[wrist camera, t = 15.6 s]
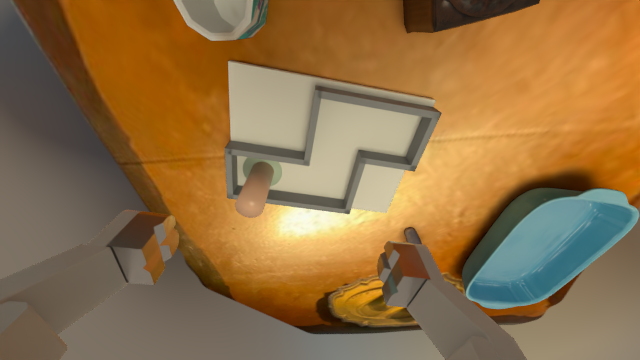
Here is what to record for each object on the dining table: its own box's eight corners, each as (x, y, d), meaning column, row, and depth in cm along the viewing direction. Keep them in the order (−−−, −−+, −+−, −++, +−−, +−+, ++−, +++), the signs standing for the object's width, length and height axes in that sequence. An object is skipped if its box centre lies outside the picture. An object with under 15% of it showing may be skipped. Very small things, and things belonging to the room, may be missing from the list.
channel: (432, 98, 37) (444, 106, 33) (385, 209, 49) (390, 223, 45) (230, 60, 33) (220, 64, 30) (234, 189, 46) (227, 202, 42)
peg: (274, 163, 41) (264, 198, 33) (273, 181, 43) (262, 219, 35) (251, 159, 41) (234, 194, 32) (251, 178, 43) (235, 215, 34)
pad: (283, 156, 41) (283, 157, 40) (280, 188, 44) (280, 189, 44) (243, 150, 40) (242, 151, 40) (243, 183, 44) (242, 184, 43)
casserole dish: (523, 162, 43) (556, 184, 38) (627, 177, 46) (674, 200, 40) (438, 280, 63) (451, 306, 57) (513, 286, 65) (533, 312, 59)
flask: (402, 228, 52) (420, 270, 43) (415, 225, 52) (436, 266, 43) (410, 253, 57) (427, 296, 48) (422, 250, 56) (442, 292, 47)
